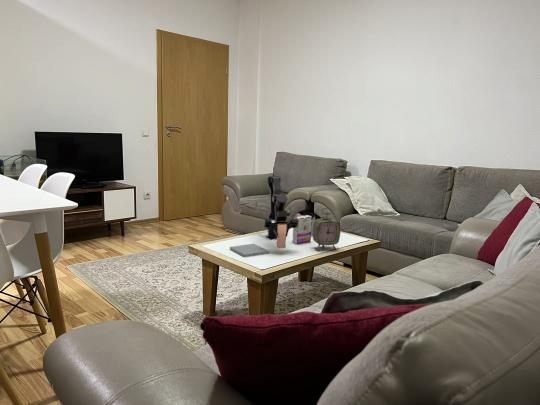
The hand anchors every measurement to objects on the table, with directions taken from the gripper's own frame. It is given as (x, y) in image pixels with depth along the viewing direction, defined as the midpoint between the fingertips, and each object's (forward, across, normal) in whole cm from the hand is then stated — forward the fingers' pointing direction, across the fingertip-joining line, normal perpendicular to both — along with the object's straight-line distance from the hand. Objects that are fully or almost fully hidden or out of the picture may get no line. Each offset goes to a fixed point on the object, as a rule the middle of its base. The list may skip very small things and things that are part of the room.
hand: (282, 236), depth 240 cm
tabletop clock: (0, +28, +15) cm, 32 cm away
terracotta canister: (+4, 0, +6) cm, 7 cm away
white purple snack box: (-24, +22, +39) cm, 50 cm away
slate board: (+4, -18, +11) cm, 21 cm away
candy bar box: (-10, +16, +25) cm, 31 cm away
